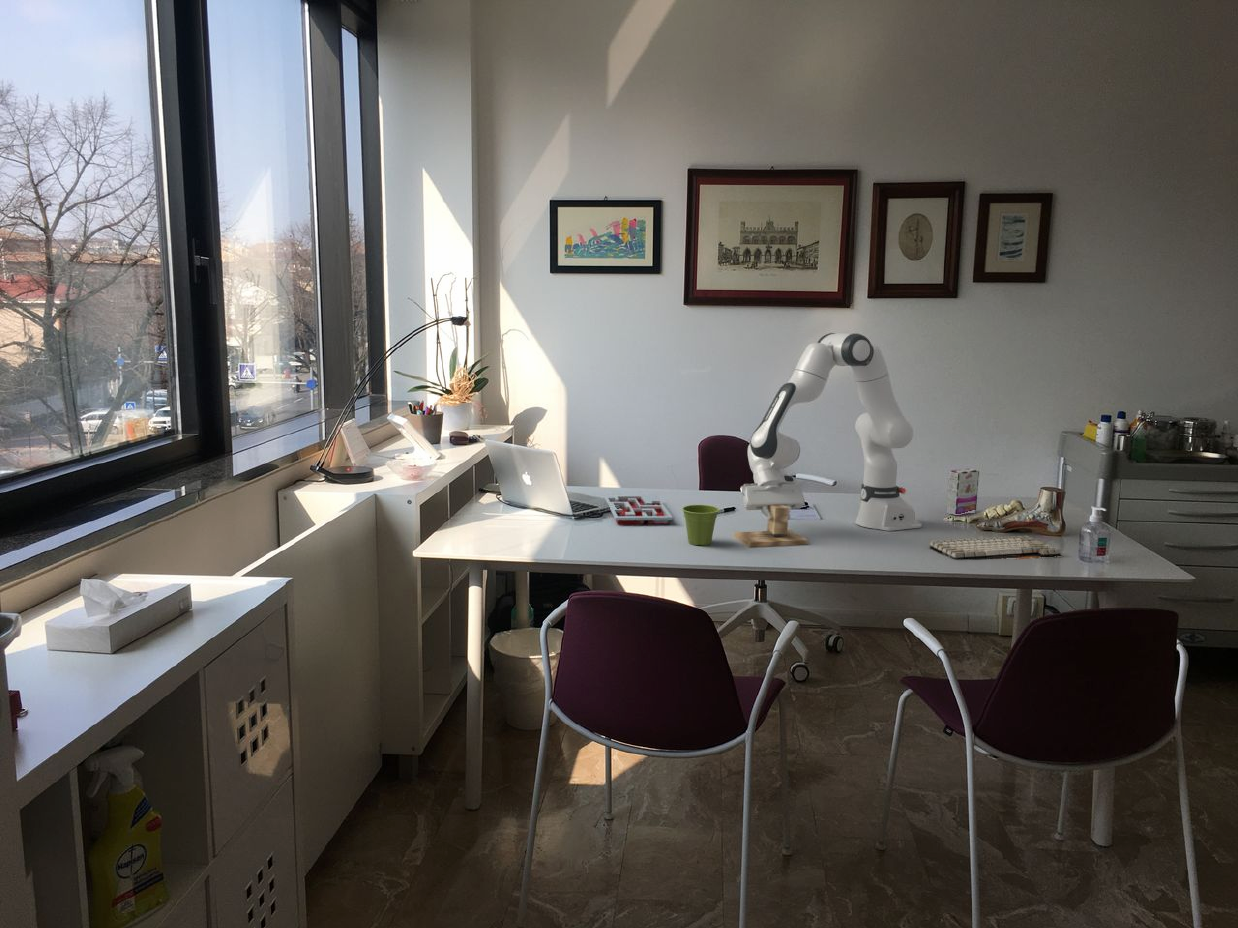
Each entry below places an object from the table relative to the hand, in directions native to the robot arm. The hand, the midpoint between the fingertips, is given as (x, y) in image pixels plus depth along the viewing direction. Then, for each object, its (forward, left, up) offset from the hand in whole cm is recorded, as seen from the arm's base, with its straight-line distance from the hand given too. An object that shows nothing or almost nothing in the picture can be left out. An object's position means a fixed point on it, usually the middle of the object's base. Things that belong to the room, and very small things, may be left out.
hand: (779, 519), depth 312 cm
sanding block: (0, -1, -5) cm, 5 cm away
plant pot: (+26, -2, -7) cm, 27 cm away
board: (+2, -1, -7) cm, 8 cm away
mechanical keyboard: (-64, +24, -8) cm, 68 cm away
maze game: (+35, -43, -8) cm, 56 cm away
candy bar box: (-85, -26, -7) cm, 89 cm away
